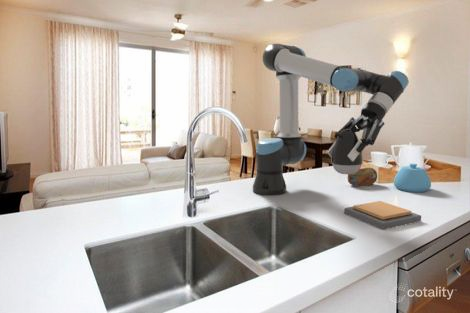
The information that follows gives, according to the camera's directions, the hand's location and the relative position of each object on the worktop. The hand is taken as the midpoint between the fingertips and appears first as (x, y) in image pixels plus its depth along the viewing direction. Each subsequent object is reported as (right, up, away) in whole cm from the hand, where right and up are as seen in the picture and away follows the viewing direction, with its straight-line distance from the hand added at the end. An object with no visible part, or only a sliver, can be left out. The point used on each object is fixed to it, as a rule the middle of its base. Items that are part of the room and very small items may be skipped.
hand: (339, 156), depth 110 cm
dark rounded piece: (+3, -6, +2) cm, 7 cm away
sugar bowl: (+45, -15, +38) cm, 61 cm away
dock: (+14, -21, +1) cm, 25 cm away
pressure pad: (+14, -19, +1) cm, 24 cm away
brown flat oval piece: (+25, -14, +46) cm, 54 cm away
